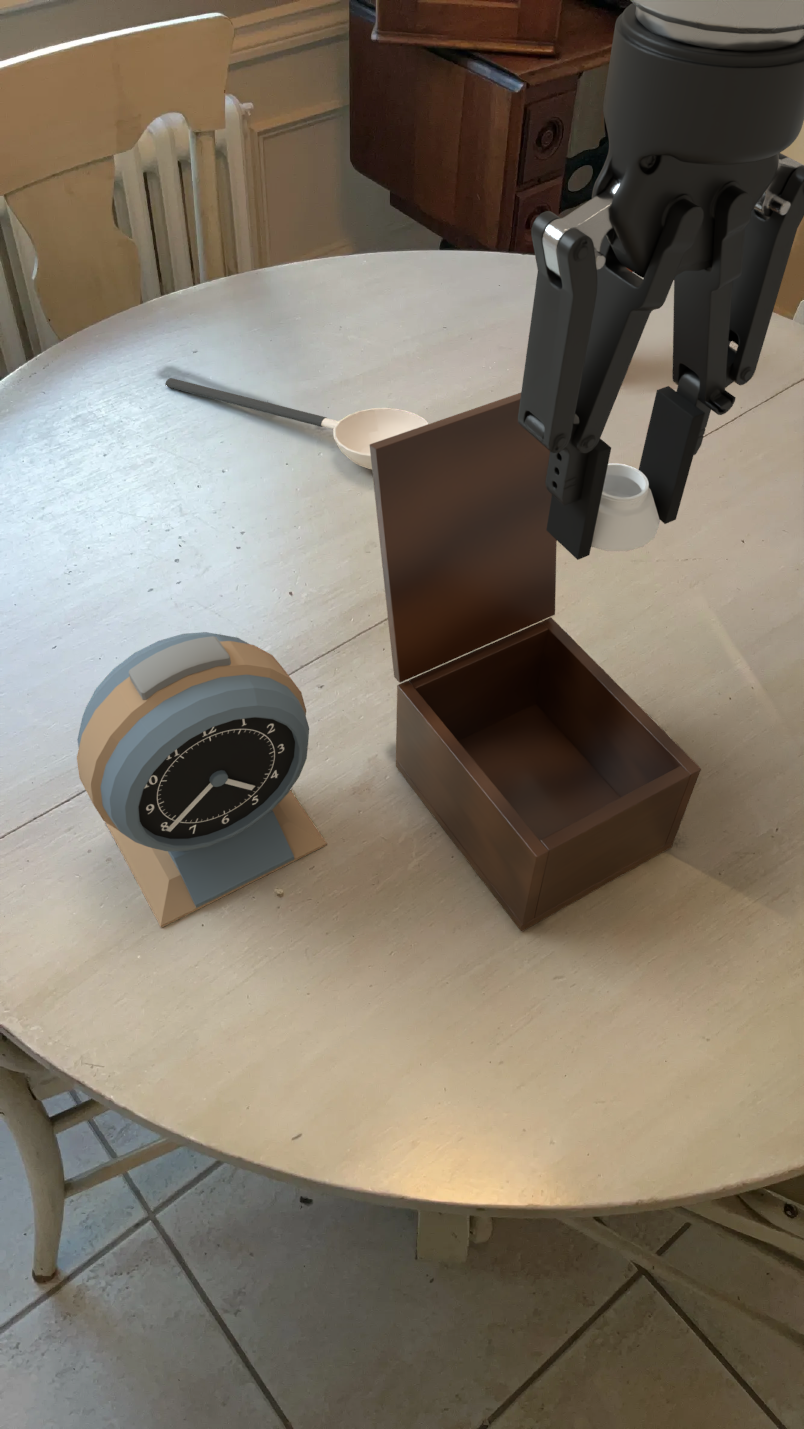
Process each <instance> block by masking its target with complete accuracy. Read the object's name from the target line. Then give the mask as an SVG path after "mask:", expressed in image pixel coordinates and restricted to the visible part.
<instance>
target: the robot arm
mask: <svg viewBox="0 0 804 1429" xmlns="http://www.w3.org/2000/svg"><path fill="white" fill-rule="evenodd" d="M629 1H630V2H631V3H630V4H629V5H628V6H626V7H625V9H624V10H623V12H622V13H621V14H619V16H618V17H617V18H616V20H615V24H614V31H613V35H612V36H613V37H612V44H611V49H610V50H611V51H610V56H609V62H608V63H609V64H608V71H607V76H606V83H605V90H604V97H603V102H602V111H603V112H602V115H603V118H604V122H605V127H606V131H607V138H608V152H607V156H606V158H605V161H604V164H603V166H602V169H601V170H600V172H599V174H598V176H597V178H596V180H595V182H594V184H593V187H592V192H591V199H589V200H588V201H586V202H585V203H583V204H582V205H580V206H578V207H577V208H576V209H574V210H572V211H571V212H570V213H568V214H567V215H565V216H563V217H560V216H558V215H557V214H556V213H554V212H552V211H551V210H546V211H543V212H541V213H540V214H539V215H537V217H536V218H535V219H534V221H533V222H532V225H531V229H530V230H531V231H530V232H531V242H532V246H533V251H534V257H535V264H536V269H537V273H536V281H535V289H534V296H533V302H532V311H531V318H530V326H529V331H528V340H527V347H526V354H525V362H524V370H523V377H522V384H521V391H520V393H521V398H520V405H519V413H518V422H519V424H520V425H521V426H522V427H523V428H524V429H525V430H527V431H528V432H529V433H530V434H531V435H532V436H533V437H535V438H536V439H537V440H538V441H539V442H540V443H541V444H542V445H544V446H545V447H546V448H547V449H548V450H549V451H550V455H549V462H548V468H547V475H546V481H545V484H546V487H547V490H548V491H549V492H550V493H551V494H552V498H551V504H550V510H549V516H548V523H547V529H546V530H547V531H548V532H549V533H550V534H551V535H552V536H553V537H554V538H555V539H556V540H557V542H558V543H559V544H560V545H561V546H562V547H563V548H564V549H565V550H567V551H568V552H569V554H570V555H571V556H573V558H575V559H576V560H577V561H578V560H579V561H580V560H582V559H583V558H586V557H588V556H590V554H591V550H592V547H591V545H592V540H593V535H594V530H595V525H596V520H597V516H598V511H599V506H600V501H601V496H602V491H603V486H604V481H605V477H606V472H607V467H608V463H610V462H609V461H610V457H611V452H612V447H611V446H610V445H609V444H608V443H607V442H606V441H604V440H603V439H602V435H603V432H604V430H605V427H606V424H607V422H608V419H609V418H610V415H611V413H612V410H613V407H614V405H615V402H616V400H617V397H618V395H619V392H620V390H621V387H622V386H623V382H624V380H625V378H626V375H627V372H628V370H629V367H630V365H631V362H632V360H633V357H634V355H635V353H636V349H637V347H638V345H639V343H640V341H641V338H642V335H643V332H644V330H645V328H646V325H647V323H648V320H649V318H650V315H651V313H652V312H653V311H654V310H660V308H662V307H663V306H664V304H665V302H666V300H667V297H668V295H669V292H670V290H671V287H672V286H673V322H672V323H673V326H672V328H673V329H672V382H673V383H674V384H675V385H677V388H676V390H675V389H674V388H672V387H671V386H670V385H668V386H664V387H662V388H659V389H657V390H656V391H655V392H656V393H655V397H654V401H653V405H652V408H651V414H650V419H649V423H648V426H647V430H646V436H645V440H644V444H643V449H642V453H641V457H640V462H639V466H638V470H639V471H641V472H642V473H643V474H644V475H645V476H646V477H647V479H648V482H649V488H650V489H651V492H652V496H653V499H654V502H655V506H656V509H657V513H658V516H659V520H660V522H662V523H663V524H664V525H667V524H669V523H672V522H674V521H677V516H678V513H679V511H680V510H679V509H680V506H681V502H682V500H683V496H684V493H685V492H684V491H685V489H686V484H687V481H688V478H689V474H690V470H691V466H692V463H693V459H694V456H695V455H697V453H698V451H699V450H700V448H701V446H702V443H703V440H704V437H705V436H704V435H705V433H706V428H707V426H708V422H709V418H710V414H711V412H714V413H715V414H716V415H718V416H723V415H725V414H727V413H728V412H729V411H730V410H731V409H732V408H733V406H734V404H735V402H736V399H737V398H736V396H735V395H733V394H731V393H730V392H728V391H727V390H726V389H727V387H729V386H730V385H731V384H733V383H735V384H737V386H744V385H746V384H747V383H748V382H749V381H750V380H751V379H752V378H753V376H754V375H755V372H756V370H757V367H758V363H759V360H760V356H761V353H762V350H763V346H764V343H765V341H766V340H765V339H766V336H767V333H768V330H769V325H770V322H771V319H772V316H773V313H774V309H775V307H776V306H775V305H776V303H777V300H778V295H779V293H780V289H781V285H782V282H783V279H784V275H785V271H786V268H787V265H788V261H789V258H790V254H791V251H792V248H793V245H794V241H795V238H796V234H797V230H798V228H799V226H800V224H801V222H802V220H803V219H804V164H803V163H801V162H799V161H797V160H795V159H793V158H791V157H789V156H788V155H785V154H783V153H782V152H784V151H785V150H787V149H788V148H789V147H790V146H791V145H792V144H793V143H795V141H796V139H797V138H798V137H799V135H800V134H801V132H802V128H803V125H804V0H629ZM627 268H628V269H627ZM630 270H631V271H632V272H631V271H630ZM731 342H732V343H734V344H735V345H737V348H736V349H735V348H733V347H732V346H730V345H731Z"/></svg>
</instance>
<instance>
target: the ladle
mask: <svg viewBox="0 0 804 1429" xmlns="http://www.w3.org/2000/svg"><path fill="white" fill-rule="evenodd" d="M164 385H165V386H166V385H167V386H168V387H167V388H169V387H171V388H170V389H173V388H174V390H178V391H181V392H185V393H189V394H193V395H196V396H199V397H204V398H207V399H208V398H209V399H212V400H215V401H218V402H219V401H220V402H224V403H227V404H230V405H231V404H232V405H235V406H238V407H239V406H240V407H243V408H247V409H251V410H255V411H259V412H262V413H266V414H269V415H274V416H278V417H282V418H285V419H288V420H294V421H298V422H301V423H305V424H308V425H312V426H316V427H321V428H326V429H331V430H333V433H332V434H333V435H332V436H333V439H334V441H335V444H336V445H337V447H338V449H339V450H340V451H341V453H342V454H343V455H344V456H345V457H347V458H348V459H349V460H350V461H351V462H353V463H354V464H356V465H357V466H360V467H363V468H366V469H369V470H372V464H371V454H370V444H372V443H375V442H378V441H381V440H384V439H387V438H390V437H393V436H396V435H399V434H401V433H404V432H407V431H410V430H413V429H416V428H419V427H422V426H425V425H428V424H430V422H429V421H428V420H427V419H426V418H424V417H422V416H421V415H419V414H417V413H414V412H413V411H412V412H411V411H408V410H405V409H400V408H393V407H372V408H367V409H361V410H357V411H355V412H353V413H350V414H348V415H346V416H344V417H343V418H341V419H340V420H335V419H332V418H328V417H326V416H322V415H318V414H315V413H310V412H307V411H303V410H298V409H295V408H291V407H287V406H283V405H279V404H275V403H271V402H268V401H263V400H260V399H257V398H256V399H255V398H252V397H247V396H243V395H239V394H236V393H233V392H228V391H224V390H220V389H216V388H213V387H208V386H204V385H200V384H197V383H192V382H188V381H185V380H181V379H177V378H173V377H169V378H168V379H166V381H165V383H164Z"/></svg>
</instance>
